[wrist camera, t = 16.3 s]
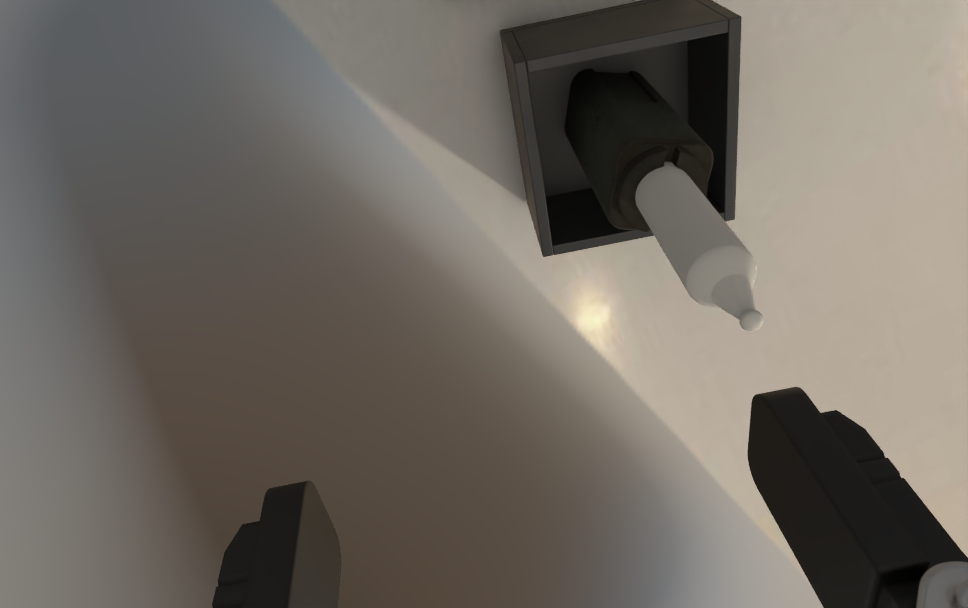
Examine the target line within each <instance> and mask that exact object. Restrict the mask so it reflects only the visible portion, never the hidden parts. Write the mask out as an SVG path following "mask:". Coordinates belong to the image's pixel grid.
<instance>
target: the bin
mask: <svg viewBox="0 0 968 608" xmlns="http://www.w3.org/2000/svg"><path fill="white" fill-rule="evenodd" d="M500 35H501V42H502V48H503V54H504V60H505V67H506V73H507V79H508V85H509V92H510V98H511V104H512V110H513V117H514V123H515V129H516V135H517V142H518V148H519V154H520V160H521V167H522V173H523V179H524V185H525V192H526V198H527V204H528V207H529V211H530V214H531V217H532V221H533V224H534V228H535V231H536V234H537V238H538V241H539V245H540V248H541V251H542V255H543V257H546V256H551V255H553V254H554V255H557V254H562V253H567V252H572V251H577V250H582V249H587V248H592V247H597V246H602V245H608V244H613V243H618V242H623V241H628V240H633V239H638V238H643V237H648V236H653V235H654V234H653V232H652V231H648V232H643V231H641V230H622V229H618V228H616V227H614V226H613V225H612V224H610V222H609V221H608V219H607V217H606V215H605V213H604V211H603V209H602V207H601V205H600V203H599V201H598V199H597V197H596V195H595V193H594V191H593V189H592V187H591V185H590V183H589V181H588V179H587V177H586V175H585V173H584V171H583V169H582V167H581V165H580V163H579V161H578V159H577V157H576V155H575V152H574V150H573V148H572V146H571V144H570V142H569V140H568V138H567V136H566V134H565V121H566V114H567V107H568V100H569V93H570V86H571V82H572V80H573V78H574V77H575V76H576V75H577V73H579V72H580V71H582V70H585V69H593V70H594V71H595V72H610V73H629V72H630V71H635V72H638V73H640V74H641V75H642V76H643V77H644V78H645V79H646V80H647V81H648V82H649V83H650V84H651V86H652V87H653V88H654V89H655V90H656V91H657V92H658V93H659V94H660V95H661V96H662V97H663V98H664V99H665V100H666V101H667V102H668V104H669V105H670V106H671V107H672V108H673V109H674V110H675V111H676V112H677V113H678V114H679V115H680V116H681V117H682V118H683V119H684V121H685V122H686V123H687V124H688V125H689V126H690V127H691V128H692V129H693V130H694V131H695V132H696V133H697V134H698V135H699V136H700V137H701V139H702V140H703V141H704V142H705V143H706V144H707V145H708V146H709V147H710V148H711V150H712V152H713V157H714V161H713V166H712V170H711V174H710V177H709V181H708V190H707V196H706V198H707V200H708V201H709V202H710V203H711V205H712V206H713V207H714V208H715V210H716V211H717V212H718V213H719V215H720V216H721V217H722V218H723V220H724V221H729V220H734V219H735V197H736V166H737V136H738V105H739V74H740V43H741V16H739V15H737V14H735V13H734V12H732V11H730V10H728V9H726V8H725V7H723V6H721V5H719V4H717V3H716V2H714V1H712V0H644V1H639V2H634V3H629V4H625V5H620V6H615V7H610V8H606V9H601V10H596V11H591V12H586V13H582V14H577V15H572V16H567V17H562V18H558V19H553V20H548V21H543V22H539V23H534V24H529V25H524V26H519V27H515V28H510V29H505V30H501V31H500Z"/></svg>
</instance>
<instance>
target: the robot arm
mask: <svg viewBox="0 0 968 608" xmlns="http://www.w3.org/2000/svg"><path fill="white" fill-rule="evenodd" d="M748 461H749V467H750V471H751V474H752V477H753V480H754V482H755V484H756V486H757V488H758V490H759V492H760V494H761V496H762V497H763V499H764V501H765V503H766V505H767V506H768V508H769V510H770V512H771V514H772V515H773V517H774V519H775V521H776V523H777V524H778V526H779V528H780V530H781V531H782V533H783V535H784V537H785V539H786V540H787V542H788V544H789V546H790V548H791V549H792V551H793V553H794V555H795V557H796V558H797V560H798V562H799V564H800V566H801V567H802V569H803V571H804V573H805V575H806V576H807V578H808V580H809V582H810V584H811V585H812V587H813V589H814V591H815V593H816V594H817V596H818V598H819V600H820V602H821V603H822V605H823V607H824V608H968V558H967V557H966V555H965V554H964V553H963V552H962V551H961V550H960V548H959V547H958V546H957V545H956V543H955V542H954V541H953V540H952V538H951V537H950V536H949V535H948V533H947V532H946V531H945V529H944V528H943V527H942V526H941V524H940V523H939V522H938V521H937V519H936V518H935V517H934V516H933V514H932V513H931V512H930V511H929V509H928V508H927V507H926V506H925V504H924V503H923V502H922V500H921V499H920V498H919V497H918V495H917V494H916V493H915V492H914V490H913V489H912V488H911V487H910V485H909V484H908V483H907V482H906V480H905V479H904V478H901V477H900V473H899V471H898V470H897V469H896V468H895V466H894V465H893V464H892V463H891V461H890V460H889V459H888V458H885V456H884V453H883V451H882V450H881V449H880V448H879V446H878V445H877V444H876V442H875V441H874V440H873V439H872V437H871V436H870V435H869V434H868V432H867V431H866V430H865V429H864V428H863V427H861V426H860V425H858V424H857V423H855V422H854V421H852V420H851V419H849V418H848V417H846V416H845V415H843V414H841V413H840V412H838V411H837V410H834V411H829V412H824V413H820V412H819V411H818V409H817V408H816V406H815V405H814V404H813V402H812V401H811V400H810V398H809V397H808V396H807V394H806V393H805V392H804V391H803V390H802V389H801V388H799V387H793V388H788V389H783V390H777V391H772V392H767V393H762V394H757V395H755V396H754V397H753V399H752V406H751V418H750V430H749V442H748ZM340 571H341V553H340V545H339V540H338V536H337V533H336V530H335V528H334V526H333V524H332V521H331V520H330V517H329V515H328V513H327V511H326V509H325V506H324V504H323V502H322V500H321V498H320V495H319V493H318V491H317V489H316V487H315V485H314V484H313V482H312V481H305V482H300V483H294V484H289V485H284V486H279V487H274V488H270V489H268V490H267V492H266V494H265V497H264V502H263V507H262V512H261V517H260V521H258V522H253V523H247V524H243V525H242V526H241V528H240V529H239V531H238V532H237V534H236V535H235V537H234V538H233V540H232V542H231V543H230V545H229V546H228V548H227V549H226V551H225V553H224V557H223V561H222V566H221V570H220V574H219V578H218V584H219V585H218V587H216V591H215V595H214V599H213V603H212V606H213V608H338V599H339V585H340V573H341V572H340Z"/></svg>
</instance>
